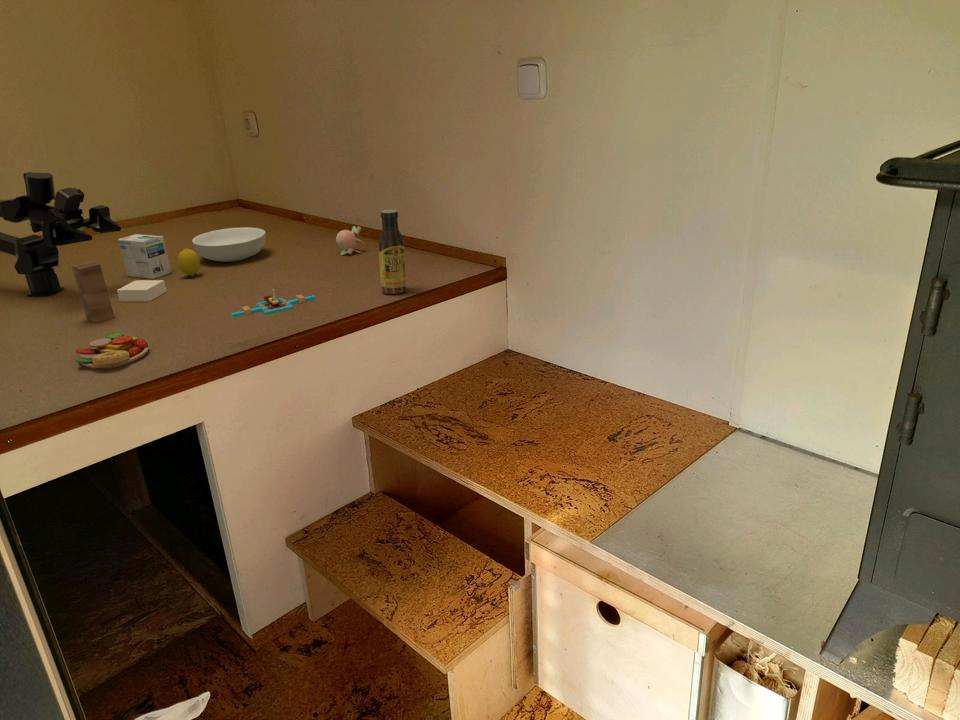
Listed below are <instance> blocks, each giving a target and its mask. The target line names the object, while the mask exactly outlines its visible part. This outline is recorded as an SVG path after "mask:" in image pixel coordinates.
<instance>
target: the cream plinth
mask: <svg viewBox="0 0 960 720" xmlns="http://www.w3.org/2000/svg"><path fill="white" fill-rule="evenodd" d="M116 291H117V296H118V301H119V302H151V301H152V300H155V299H157V298H158V297H160V296H161V295H163V294H165V293H167V286H166V282H165V280H162V279H158V280H157V279H156V280H155V279H152V280H151V279H149V280H146V279H145V280H141V279H138V280H133V281H131V282H130V283H129V282H128V284H126V285H124V286H122V287H121V288H118V289H117V290H116Z"/></svg>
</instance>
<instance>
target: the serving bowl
mask: <svg viewBox="0 0 960 720" xmlns="http://www.w3.org/2000/svg"><path fill="white" fill-rule="evenodd" d="M266 239H267V236H266V231H265V230H264V229H263V228H262V229H261V228H259V227H229V228H222V229H217V230H211V231H208V232H204V233H201V234H198V235H197V236H195V237H193V238H192V241H191V242H192V245H193V247H194V249H195V251H196V252H197V253H198V254H199V255H200V256H201V257H203V258H205V259H207V260H209V261H216V262H225V263H229V262H231V263H232V262H238V261H243V260H245V259H248V258H250V257H253V256H254V255H256V254H258V253H259V252H260V251H261V250H262V249H263V247H264V246H265V244H266Z"/></svg>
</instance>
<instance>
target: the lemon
mask: <svg viewBox="0 0 960 720" xmlns="http://www.w3.org/2000/svg"><path fill="white" fill-rule="evenodd" d="M177 265H178V268H179V269H180V271H181V273H183V274H185V275H188V276H190V277H194V275H195V274H197V273H198V272H199V270H200V268H201V261H200V257H199V256H198V254H197V253H196V252H195V251H194V250H193V249H189V248H188V247H186V248H184V249H183V250H181V251H180V252H179V253H178V256H177Z"/></svg>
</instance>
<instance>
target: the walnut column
mask: <svg viewBox="0 0 960 720" xmlns="http://www.w3.org/2000/svg"><path fill="white" fill-rule="evenodd" d="M71 270H72V273H73V277H74V280H75V284H76V287H77V290H78V293H79V296H80V299H81V303H82V308H83V310H84V314H85V317H86V320H88V321H89V322H91V323H93V322H94V324H98V323H101V322H105V321H107V320H111V319H114V318H116V317H115V314H114V309H113V306H112V303H111V299H110V295H109V292H108V287H107V285H106V280H105V277H104V273H103V269H102V267H101V263H98V262H96V261H92V260H89V261H86V262H82V263H78V264H73V265H71ZM97 322H98V323H97Z"/></svg>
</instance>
